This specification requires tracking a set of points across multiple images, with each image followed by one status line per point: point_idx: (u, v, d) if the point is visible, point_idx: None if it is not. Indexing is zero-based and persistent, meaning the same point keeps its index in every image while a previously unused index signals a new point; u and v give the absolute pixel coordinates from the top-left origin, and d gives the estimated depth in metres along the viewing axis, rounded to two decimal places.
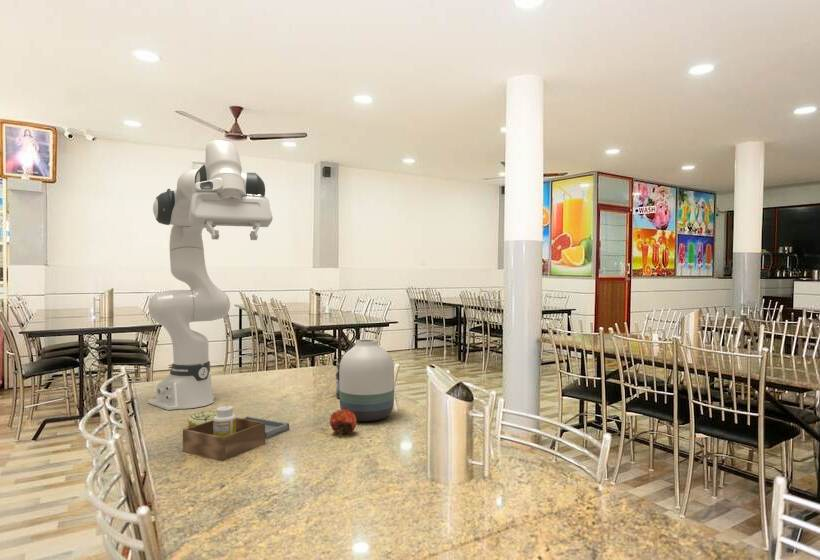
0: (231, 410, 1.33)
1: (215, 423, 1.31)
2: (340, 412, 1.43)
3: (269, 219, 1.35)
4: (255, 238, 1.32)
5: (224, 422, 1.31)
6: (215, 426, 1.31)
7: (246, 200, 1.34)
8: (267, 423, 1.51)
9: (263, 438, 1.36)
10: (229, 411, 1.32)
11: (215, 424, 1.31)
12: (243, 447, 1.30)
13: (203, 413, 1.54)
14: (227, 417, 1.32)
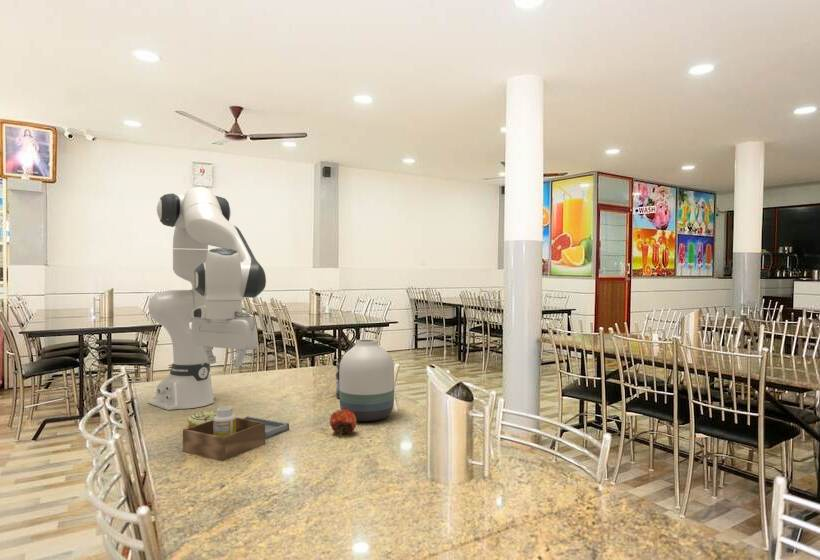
0: (231, 410, 1.33)
1: (215, 423, 1.31)
2: (340, 412, 1.43)
3: (245, 348, 1.28)
4: (237, 366, 1.31)
5: (224, 422, 1.31)
6: (215, 426, 1.31)
7: (229, 325, 1.30)
8: (267, 423, 1.51)
9: (263, 438, 1.36)
10: (229, 411, 1.32)
11: (215, 424, 1.31)
12: (243, 447, 1.30)
13: (203, 413, 1.54)
14: (227, 417, 1.32)
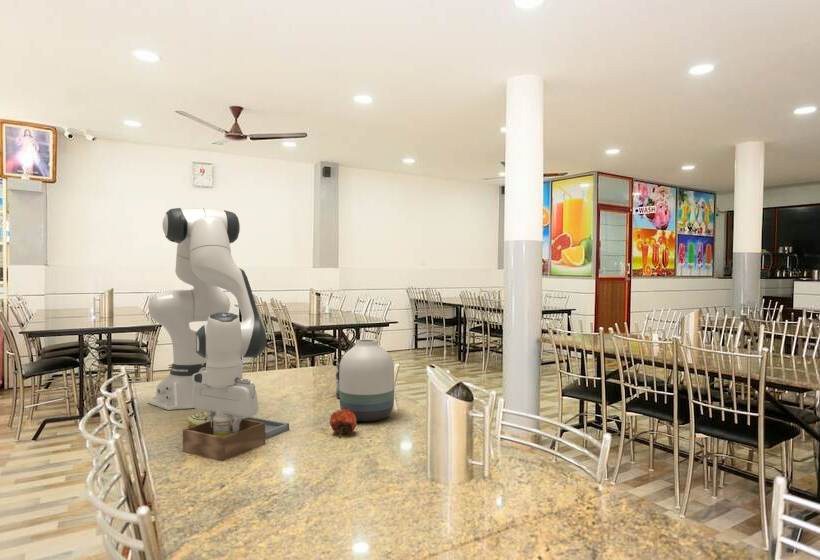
0: None
1: (215, 423, 1.31)
2: (340, 412, 1.43)
3: (245, 416, 1.28)
4: None
5: (224, 422, 1.31)
6: (215, 426, 1.31)
7: (230, 392, 1.30)
8: (267, 423, 1.51)
9: (263, 438, 1.36)
10: None
11: (215, 424, 1.31)
12: (243, 447, 1.30)
13: (203, 413, 1.54)
14: (228, 417, 1.32)
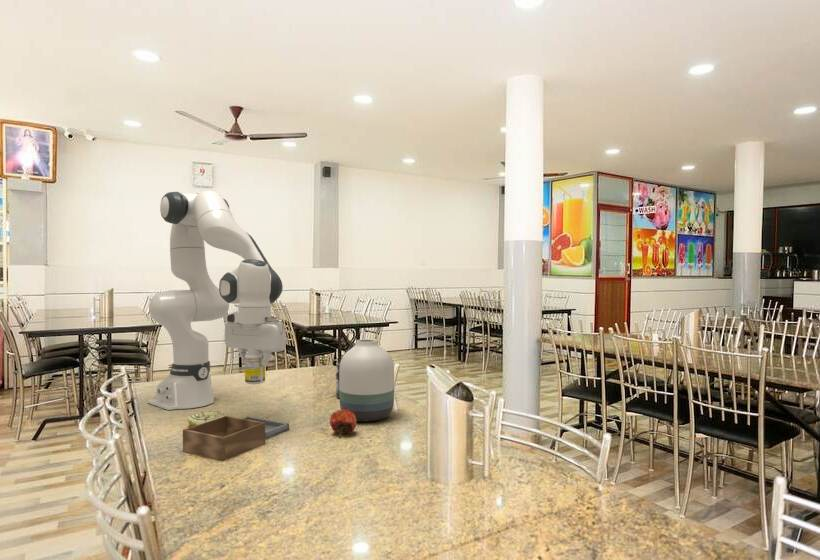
0: None
1: (247, 360, 1.45)
2: (340, 412, 1.43)
3: (275, 350, 1.41)
4: None
5: (255, 359, 1.45)
6: (247, 362, 1.45)
7: (260, 329, 1.44)
8: (267, 423, 1.51)
9: (263, 438, 1.36)
10: None
11: (247, 360, 1.45)
12: (243, 447, 1.30)
13: (203, 413, 1.54)
14: (258, 355, 1.45)
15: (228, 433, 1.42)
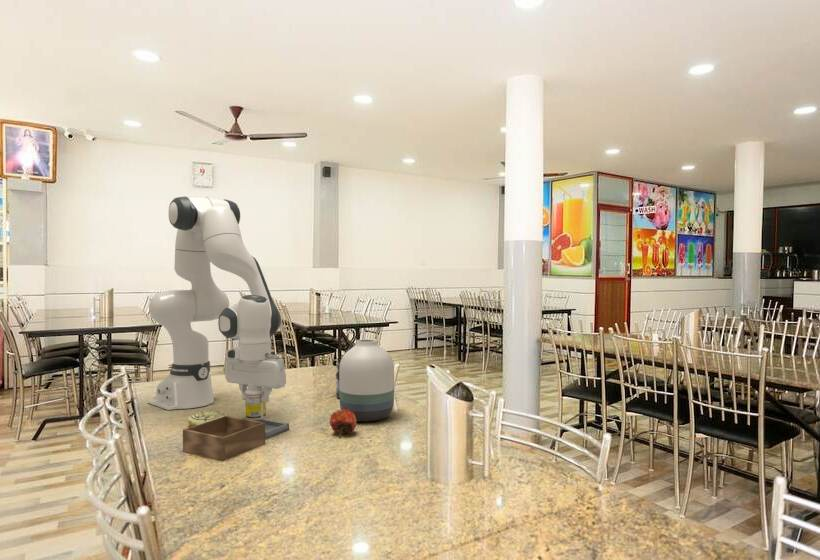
0: None
1: (247, 396, 1.45)
2: (340, 412, 1.43)
3: (275, 387, 1.42)
4: None
5: (255, 395, 1.45)
6: (247, 398, 1.45)
7: (260, 366, 1.44)
8: (267, 423, 1.51)
9: (263, 438, 1.36)
10: None
11: (247, 397, 1.45)
12: (243, 447, 1.30)
13: (203, 413, 1.54)
14: (258, 391, 1.45)
15: (228, 433, 1.42)
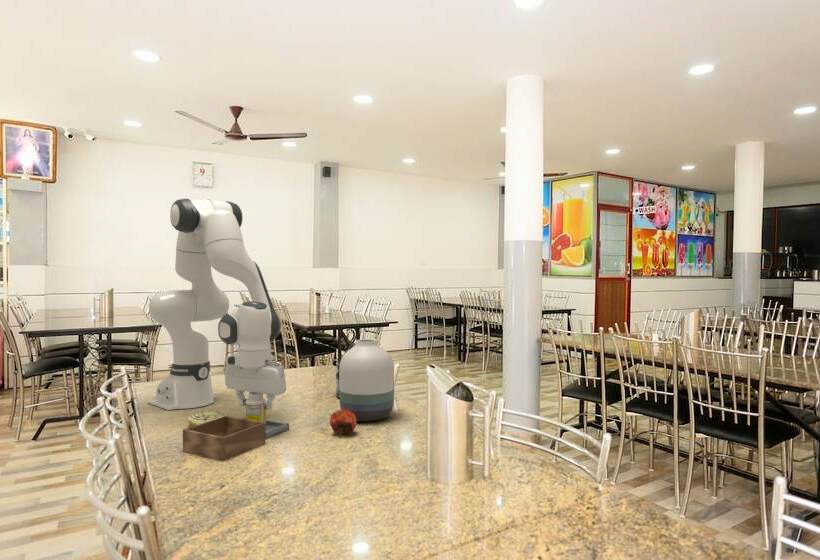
0: (262, 394, 1.47)
1: (248, 406, 1.45)
2: (340, 412, 1.43)
3: (275, 394, 1.42)
4: None
5: (256, 405, 1.45)
6: (247, 409, 1.45)
7: (260, 372, 1.44)
8: (267, 423, 1.51)
9: (263, 438, 1.36)
10: (260, 395, 1.46)
11: (248, 407, 1.45)
12: (243, 447, 1.30)
13: (203, 413, 1.54)
14: (259, 401, 1.46)
15: (228, 433, 1.42)
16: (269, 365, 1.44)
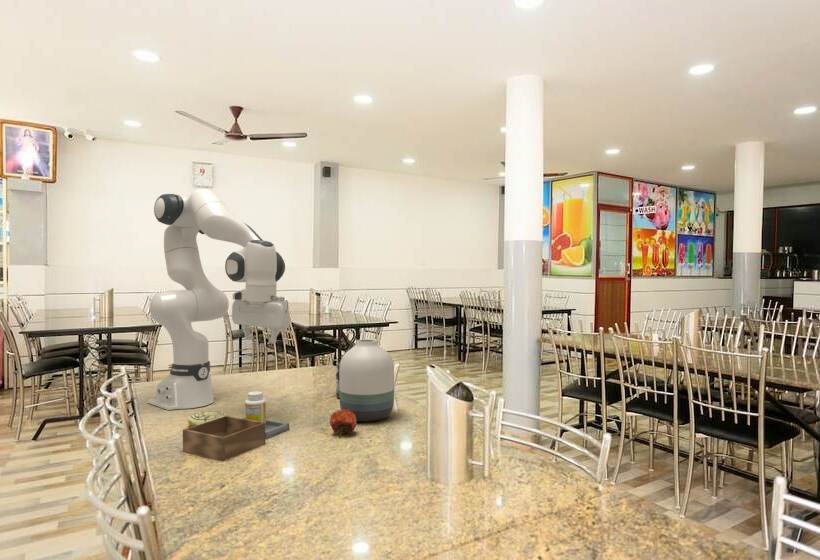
0: (261, 394, 1.47)
1: (247, 406, 1.45)
2: (340, 412, 1.43)
3: (279, 328, 1.48)
4: None
5: (256, 405, 1.45)
6: (247, 409, 1.45)
7: (266, 307, 1.50)
8: (267, 423, 1.51)
9: (263, 438, 1.36)
10: (259, 395, 1.46)
11: (247, 407, 1.45)
12: (243, 447, 1.30)
13: (203, 413, 1.54)
14: (258, 401, 1.46)
15: (228, 433, 1.42)
16: (274, 300, 1.50)
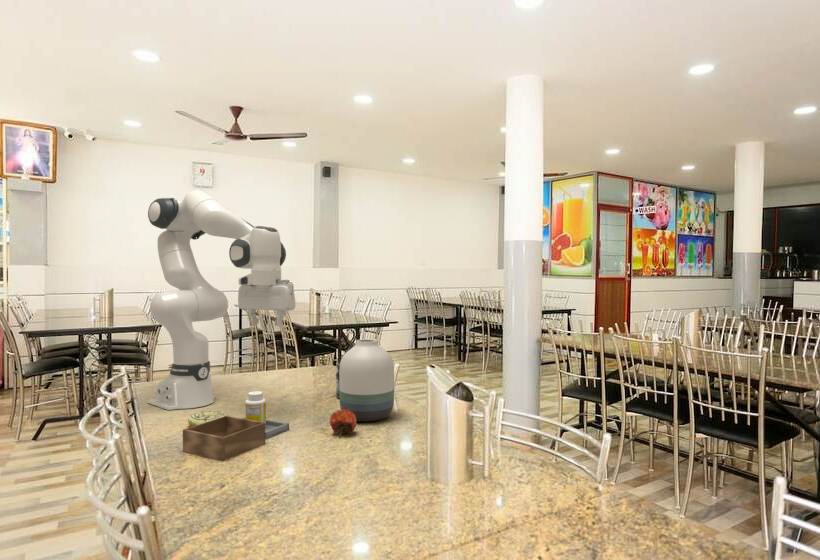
0: (261, 394, 1.47)
1: (247, 406, 1.45)
2: (340, 412, 1.43)
3: (285, 309, 1.52)
4: None
5: (256, 405, 1.45)
6: (247, 409, 1.45)
7: (271, 290, 1.55)
8: (267, 423, 1.51)
9: (263, 438, 1.36)
10: (260, 395, 1.46)
11: (247, 407, 1.45)
12: (243, 447, 1.30)
13: (203, 413, 1.54)
14: (259, 401, 1.46)
15: (228, 433, 1.42)
16: (279, 283, 1.55)
